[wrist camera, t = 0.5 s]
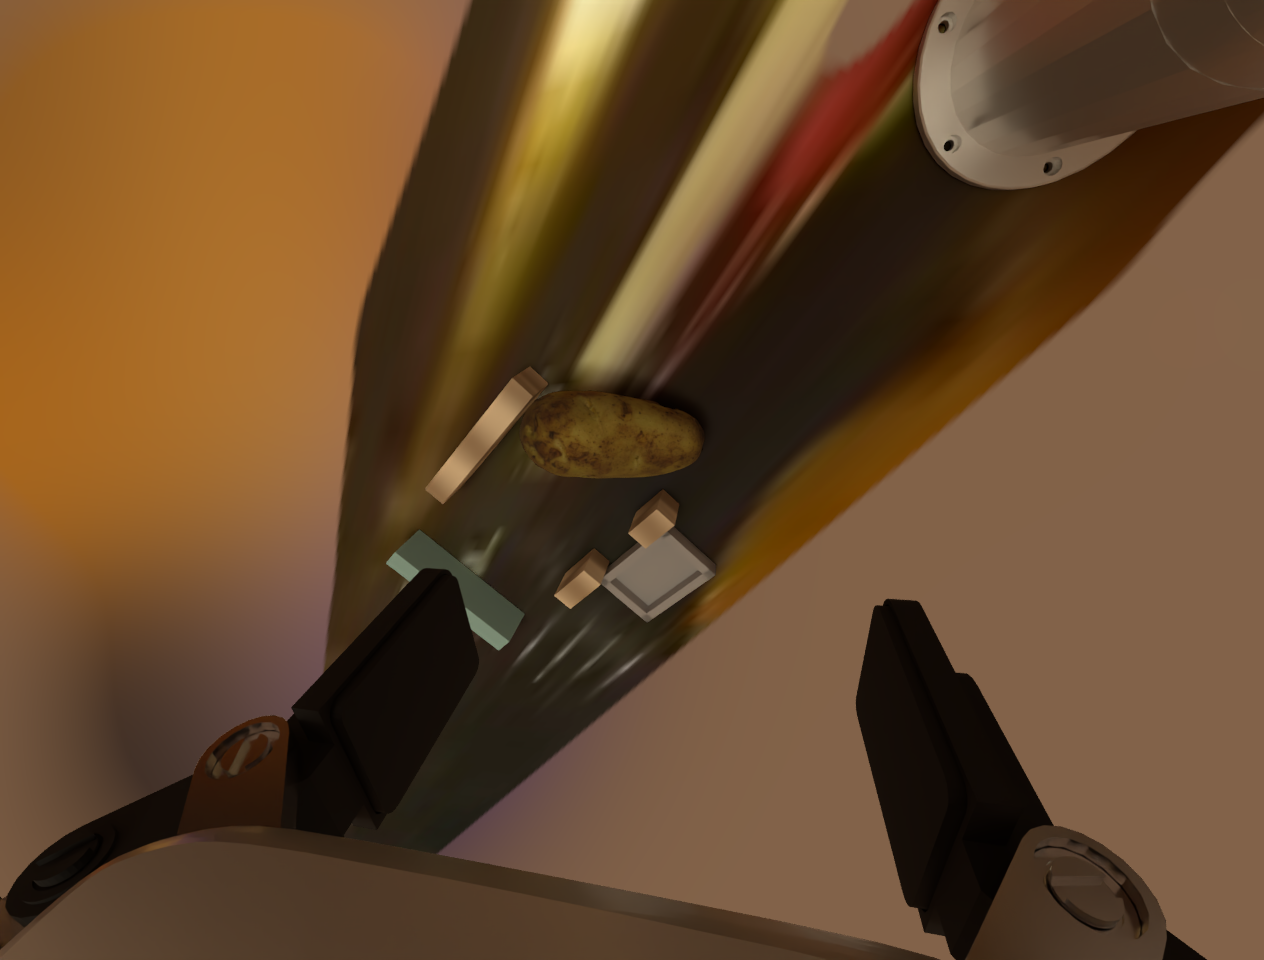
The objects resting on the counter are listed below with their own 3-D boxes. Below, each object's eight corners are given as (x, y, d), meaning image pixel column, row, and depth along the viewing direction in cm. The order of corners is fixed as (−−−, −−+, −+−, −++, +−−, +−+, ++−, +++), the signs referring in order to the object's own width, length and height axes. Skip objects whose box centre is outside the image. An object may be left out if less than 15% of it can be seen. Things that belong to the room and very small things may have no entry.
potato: (668, 496, 42) (654, 548, 35) (536, 426, 42) (495, 465, 35) (717, 417, 38) (712, 459, 31) (572, 338, 38) (534, 363, 31)
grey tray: (665, 519, 43) (663, 528, 42) (715, 564, 44) (715, 574, 43) (602, 571, 47) (598, 581, 46) (649, 612, 48) (647, 622, 47)
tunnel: (530, 366, 39) (512, 377, 36) (679, 504, 42) (674, 525, 39) (445, 471, 46) (424, 489, 43) (581, 585, 49) (570, 608, 46)
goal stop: (419, 529, 50) (395, 552, 46) (524, 614, 52) (509, 641, 49) (410, 540, 50) (386, 563, 47) (514, 622, 53) (498, 650, 49)
